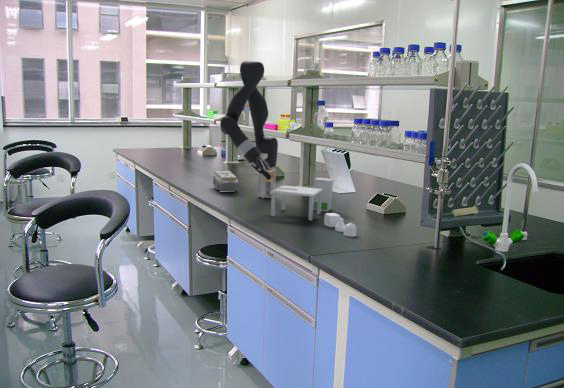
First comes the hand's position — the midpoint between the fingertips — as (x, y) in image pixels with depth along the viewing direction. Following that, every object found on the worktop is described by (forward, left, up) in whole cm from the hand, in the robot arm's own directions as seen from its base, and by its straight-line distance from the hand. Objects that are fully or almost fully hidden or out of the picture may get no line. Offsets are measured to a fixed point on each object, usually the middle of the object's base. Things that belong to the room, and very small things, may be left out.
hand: (271, 177), depth 240 cm
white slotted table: (0, +13, -17) cm, 21 cm away
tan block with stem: (0, -2, -9) cm, 9 cm away
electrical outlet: (-42, -45, -17) cm, 63 cm away
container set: (+19, +39, -17) cm, 46 cm away
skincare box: (-17, +21, -17) cm, 32 cm away
